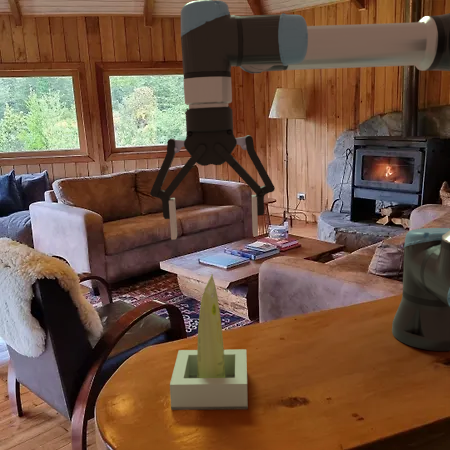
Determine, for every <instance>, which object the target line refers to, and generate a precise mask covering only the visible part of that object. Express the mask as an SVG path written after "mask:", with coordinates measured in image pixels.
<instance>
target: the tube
mask: <svg viewBox="0 0 450 450" xmlns="http://www.w3.org/2000/svg"><path fill="white" fill-rule="evenodd" d="M203 290H204V291H203V292H202V296H201V299H200V300H201V301H200V307H199V308H200V309H199V316H198V330H197V349H196V350H197V378H225V362H224V350H225V349H224V338H223V327H222V318H221V311H220V305H219V299H218V292H217V288H216V282H215V279H214V276H213V273H211V274H210V278H209V279H208V281H207V283H206V285H205V287H204V289H203Z"/></svg>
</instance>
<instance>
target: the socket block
mask: <svg viewBox="0 0 450 450" xmlns="http://www.w3.org/2000/svg"><path fill="white" fill-rule="evenodd" d="M224 362H225V378H197V349H178V352H177V355H176V360H175V364H174V368H173V371H172V375H171V379H170V382H169V395H170V410H171V411H173V410H174V411H175V410H176V411H177V410H178V411H182V410H185V411H186V410H188V411H190V410H199V411H200V410H248V370H247V369H248V367H247V366H248V365H247V362H248V360H247V349H243V348H241V349H239V348H237V349H224Z"/></svg>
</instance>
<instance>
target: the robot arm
mask: <svg viewBox="0 0 450 450" xmlns="http://www.w3.org/2000/svg"><path fill="white" fill-rule="evenodd" d="M180 41H181V42H180V44H181V57H182V59H181V60H182V73H183V93H184V94H183V95H184V96H183V97H184V104H185V105H186V106H188V108H186V111H184V112H185V113H184V114H185V126H186V127H185V128H186V129H185V130H186V137H185V139H176V138H173V137H172V138H169V139H168V140H167V141H166V142H167V143H166V153H165V157H164V159H163V161H162V164H161V165H160V168H159V171H158V173H157V175H156V177H155V180H154V183H153V184H152V187H151V189H150V193H149V194H150V196H151V197H153V198H157V199H160V200H161V203H162V206H161V207H162V216H163V219H164V220H169V225H170V239H171V241H173V240H177V237H178V225H177V224H178V223H177V222H178V221H177V210H176V207H177V206H176V198H175V197H172V195H173V194H174V192H175V191H176V189H177V188H178V187H179V185H181V183H182V182H183V180H184V179H185V178H186V177H187V175H188V173H190V171H191V170H192V168H193V167H194V166H195V165H196V164H198V165H200V166H202V167H203V166H205V167H206V166H210V165H212V166H213V165H214V166H221V165H223V164H225V163H227V164H228V165H229V167H230V168H231V169H232V170H233V171H234V172H235V173H236V174H237V175H238V176H239V177H240V178H241V179H242V180H243V182H244V183H245V184H246V185H247V186H248V187H249V188H250V190H252V191H253V192H254V193H255V194H251V215H252V216H251V218H252V219H251V220H252V222H251V223H252V236H253V237H259V230H258V229H259V227H258V226H259V225H258V223H259V222H258V221H259V220H258V219H259V218H258V216H264V214H265V196H267V194H270V193H273V192H274V191H276V189H275V185H274V184H273V181H272V180H271V178H270V176H269V175H268V171H267V170H266V168H265V167H264V165H263V163H262V161H261V159H260V158H259V155H258V154H257V151H256V149H255V144H254V138H253V136H252V135H250V134H248V135H245V136H241V137H235V134H234V117H233V109H232V107H231V106H230V105H229V104H231V103H232V102H233V93H232V92H233V91H232V90H233V89H232V72H231V71H232V67H239V68H240V69H241V70H243V71H245V72H246V73H248V74H261V73H263V72H279V71H280V72H281V71H296V70H298V71H302V70H303V71H304V70H326V69H327V70H329V69H349V68H351V69H352V68H354V69H355V68H379V67H380V68H383V67H403V66H404V67H405V66H407V67H408V66H415V67H416V69H417V70H419V71H423V72H424V71H441V72H450V13H445V14H439V15H425V16H423V17H421V18H420V19H419V21H415V22H393V23H392V22H389V23H386V22H385V23H365V24H364V23H363V24H361V23H359V24H356V23H355V24H335V25H334V24H330V25H327V24H326V25H307V22H306V19H305V18H304V17H303V16H302V15H300V14H287V13H281V14H279V13H278V14H260V15H258V14H257V15H234V14H231V12H230V10H229V5H228V3H226V2H225V1H223V0H194V1H190V2H187V3H185V4H184V5H183V7H182V8H181V9H180ZM237 145H238V146H240V147H241V149H242V150H244V151H247V152H246V153H247V154H248V156H249V159H250V160H251V162H252V164H253V166H254V167H255V169H256V172H257V173H258V175H259V177H260V178H261V180H262V182H263V184H264V185H262V186H260V185H259V183H258V181H256V180H255V179H254V178H253V177H252V176H251V175H250V173H248V171H247V170H246V169H245V168H244V167H243V166H242V165H241V164H240V163H239V162H238V160H237V159H236V158H235V157H234V155H232V153H233V151H234V149H235V148H236V146H237ZM182 148H185V150H186V151H187V152H188V154H189V155H190V157H189V159H188V160H187V161H186V163H184V165H183V167H182V168H181V169H180V170H179V172H178V173H177V175H175V177H174V178H173V180H172V181H171V182H170V183H169V185H168V186H167V188H166V189H165V190H164V189H162V187H163V185H164V183H165V180H166V178H167V176H168V172H169V170H170V168H171V166H172V163H173V161H174V158H175V156H176V154H177V153H180V151H181V149H182ZM402 269H403V270H402V271H403V272H402V295H401V301H400V303H399V304H398V305H399V306H398V307H397V310H396V312H395V315H394V318H393V320H392V323H391V324H392V326H391V327H392V328H391V333H392V336H393V337H394V338H395V339H396V340H398V341H399V342H401V343H403V344H405V345H408V346H410V347H413V348H417V349H421V350H426V351H435V352H447V351H448V352H449V351H450V228H448V227H427V228H415V229H411V230H409V231H408V232H406V234H405V238H404V245H403V268H402Z"/></svg>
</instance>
